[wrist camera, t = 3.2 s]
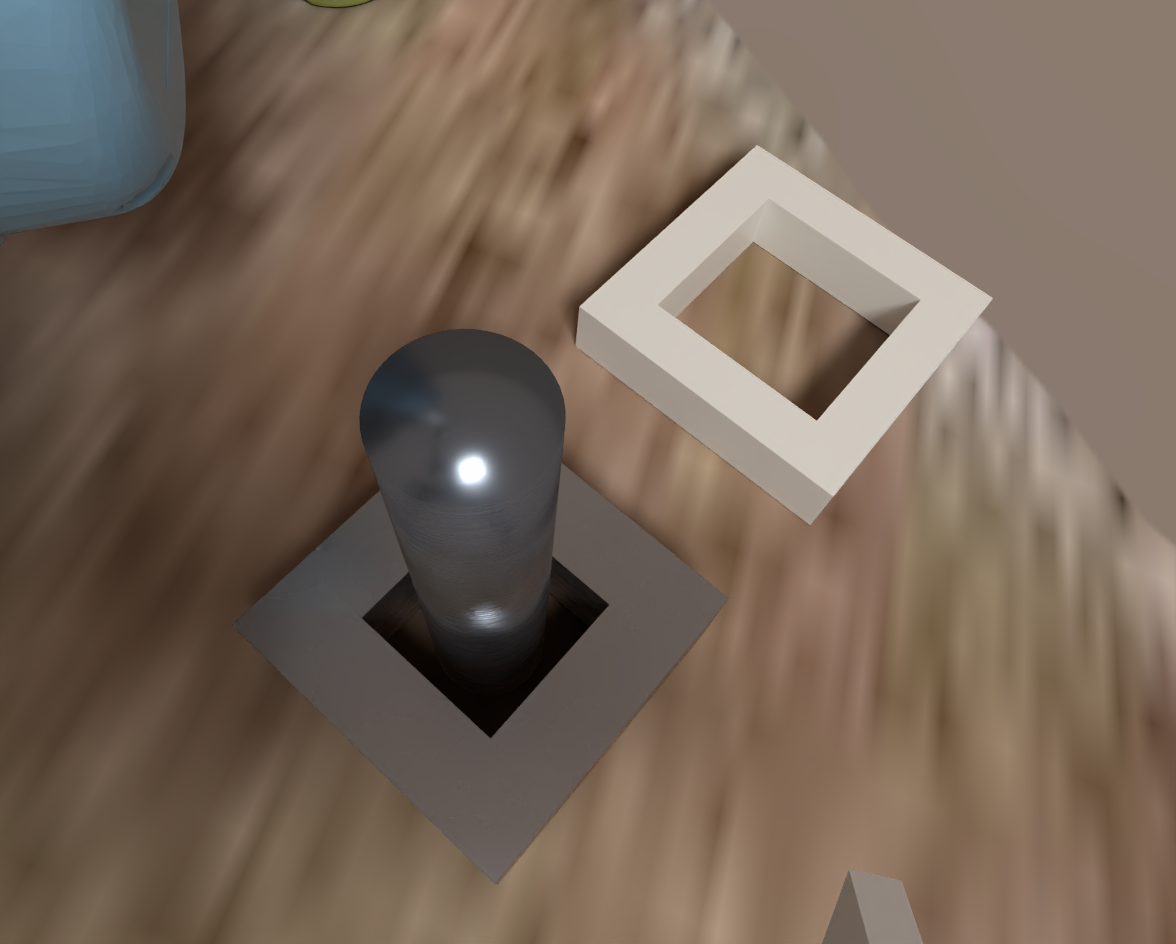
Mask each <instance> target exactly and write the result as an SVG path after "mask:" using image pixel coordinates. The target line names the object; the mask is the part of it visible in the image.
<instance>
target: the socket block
mask: <svg viewBox="0 0 1176 944" xmlns="http://www.w3.org/2000/svg"><path fill="white" fill-rule="evenodd" d="M549 593H550V594H551V595H552V596H554V597H555V598H556V599H557V600H558V601H559V602H561V603H562V604H563V605H564V606H565V607H566V608H568V609H569V610H570V611H571V612H572V613H573V614H574V615H576V616H577V617H578V618H579V619H580V620H581V621H583V622H584V623H585V624H586V625H587V626H588V627H589V628H588V630H587V631H586V632H585V633H584V634H583V635H582V636H581V637H580V639H579V640H578V641H577V642H576V643H575V644H574V645H573V647H572V648H571V649H570V650H569V651H568V652H567V653H566V654H565V656H564V657H563V658H562V659H561V660H560V661H559V662H558V663H557V665H556V666H555V667H554V668H553V669H552V670H551V671H550V672H549V674H548V675H547V676H546V677H545V678H544V679H543V680H542V681H541V683H540V684H539V685H538V686H537V687H536V688H535V689H534V690H533V692H532V693H531V694H530V695H529V696H528V697H527V698H526V699H525V701H524V702H523V703H522V704H521V705H520V706H519V707H518V708H517V710H516V711H515V712H514V713H513V714H512V715H511V716H510V717H509V719H508V720H507V721H506V722H505V723H504V724H503V725H502V726H501V728H500V729H499V730H498V731H497V732H496V733H495V734H494V736H493V737H492V738H491V739H490V738H489V737H488V736H487V735H486V734H485V733H484V732H483V731H482V730H481V729H480V728H479V727H478V726H476V725H475V724H474V723H473V722H472V721H471V720H470V719H469V718H468V717H467V716H466V715H465V714H464V713H463V712H461V711H460V710H459V709H458V708H457V707H456V706H455V705H454V704H453V703H452V702H451V701H450V700H449V699H448V698H446V697H445V696H444V695H443V694H442V693H441V692H440V691H439V690H438V689H437V688H436V687H435V686H434V685H433V684H431V683H430V682H429V681H428V680H427V679H426V678H425V677H424V676H423V675H422V674H421V673H420V672H419V671H418V670H416V669H415V668H414V667H413V666H412V665H411V664H410V663H409V662H408V661H407V660H406V659H405V658H404V657H403V656H401V655H400V654H399V653H398V652H397V651H396V650H395V649H394V648H393V647H392V646H391V645H390V644H389V643H388V642H387V641H388V640H389V639H390V638H391V637H392V636H393V635H394V634H395V633H396V632H397V631H398V630H399V629H400V628H401V627H402V626H403V625H404V624H405V623H406V622H407V621H408V620H409V619H410V618H411V617H412V616H413V615H414V614H415V613H416V612H417V611H418V610H419V609H420V608H421V605H420V602H419V599H418V597H417V594H416V591H415V588H414V585H413V583H412V580H411V577H410V574H409V571H408V568H407V566H406V563H405V560H404V557H403V554H402V551H401V549H400V546H399V543H398V540H397V537H396V534H395V532H394V529H393V526H392V523H391V520H390V517H389V515H388V512H387V509H386V506H385V503H384V501H383V498H382V495H381V492H380V491H378V492H377V493H376V494H375V495H374V496H373V497H372V498H371V499H370V500H369V501H368V502H366V503H365V504H364V505H363V506H362V507H361V508H360V509H359V510H358V511H357V512H355V513H354V514H353V515H352V516H351V517H350V518H349V519H348V520H347V521H346V522H344V523H343V524H342V525H341V526H340V527H339V528H338V529H337V530H336V531H335V532H333V533H332V534H331V535H330V536H329V537H328V538H327V539H326V540H325V541H324V542H322V543H321V544H320V545H319V546H318V547H317V548H316V549H315V550H314V551H313V552H311V553H310V554H309V555H308V556H307V557H306V558H305V559H304V560H303V561H302V562H300V563H299V564H298V565H297V566H296V567H295V568H294V569H293V570H292V571H291V572H289V573H288V574H287V575H286V576H285V577H284V578H283V579H282V580H281V581H280V582H278V583H277V584H276V585H275V586H274V587H273V588H272V589H271V590H270V591H269V592H267V593H266V594H265V595H264V596H263V597H262V598H261V599H260V600H259V601H258V602H256V603H255V604H254V605H253V606H252V607H251V608H250V609H249V610H248V611H247V612H245V613H244V614H243V615H242V616H241V617H240V618H239V619H238V620H237V621H236V622H234V623H233V624H232V626H233V627H234V628H235V629H236V630H237V631H239V632H240V633H241V634H242V635H243V636H244V637H245V638H246V639H247V640H248V641H249V642H250V643H251V644H252V645H253V646H254V647H255V648H256V649H257V650H258V651H259V652H260V653H261V654H262V655H263V656H264V657H265V658H266V659H267V660H268V661H269V662H270V663H271V664H272V665H273V666H274V667H275V668H276V669H277V670H278V671H279V672H280V673H281V674H282V675H283V676H284V677H285V678H286V679H287V680H288V681H289V682H290V683H291V684H292V685H293V686H294V687H295V688H296V689H297V690H298V691H299V692H300V693H301V694H302V695H303V696H304V697H305V698H306V699H307V700H308V701H309V702H311V703H312V704H313V705H314V706H315V707H316V708H317V709H318V710H319V711H320V712H321V713H322V714H323V715H324V716H325V717H326V718H327V719H328V720H329V721H330V722H331V723H332V724H333V725H334V726H335V727H336V728H337V729H338V730H339V731H340V732H341V733H342V734H343V735H344V736H345V737H346V738H347V739H348V740H349V741H350V742H351V743H352V744H353V745H354V746H355V747H356V748H357V749H358V750H359V751H360V752H361V753H362V754H363V755H364V756H365V757H366V758H367V759H368V760H369V761H370V762H371V763H372V764H373V765H374V766H375V767H376V768H377V769H378V770H379V771H380V772H381V773H383V774H384V775H385V776H386V777H387V778H388V779H389V780H390V781H391V782H392V783H393V784H394V785H395V786H396V787H397V788H398V789H399V790H400V791H401V792H402V793H403V794H404V795H405V796H406V797H407V798H408V799H409V800H410V801H411V802H412V803H413V804H414V805H415V806H416V807H417V808H418V809H419V810H420V811H421V812H422V813H423V814H424V815H425V816H426V817H427V818H428V819H429V820H430V821H431V822H432V823H433V824H434V825H435V826H436V827H437V828H438V829H439V830H440V831H441V832H442V833H443V834H444V835H445V836H446V837H447V838H448V839H449V840H450V841H451V842H452V843H453V844H455V845H456V846H457V847H458V848H459V849H460V850H461V851H462V852H463V853H464V854H465V855H466V856H467V857H468V858H469V859H470V860H471V861H472V862H473V863H474V864H475V865H476V866H477V867H478V868H479V869H480V870H481V871H482V872H483V873H484V874H485V875H486V876H487V877H488V878H489V879H490V880H491V881H492V882H493V883H494V884H498V883H499V882H500V881H501V880H502V879H503V877H504V876H505V875H506V874H507V872H508V871H509V870H510V869H511V868H512V866H513V865H514V864H515V863H516V861H517V860H518V859H519V858H520V857H521V855H522V854H523V853H524V852H525V850H526V849H527V848H528V847H529V846H530V844H531V843H532V842H533V841H534V839H535V838H536V837H537V836H538V835H539V833H540V832H541V831H542V830H543V828H544V827H545V826H546V825H547V824H548V822H549V821H550V820H551V819H552V817H553V816H554V815H555V814H556V813H557V811H558V810H559V809H560V808H561V806H562V805H563V804H564V803H565V802H566V800H567V799H568V798H569V797H570V795H571V794H572V793H573V792H574V790H575V789H576V788H577V787H578V786H579V784H580V783H581V782H582V781H583V779H584V778H585V777H586V776H587V775H588V773H589V772H590V771H591V770H592V768H593V767H594V766H595V765H596V764H597V762H598V761H599V760H600V759H601V757H602V756H603V755H604V754H605V753H606V751H607V750H608V749H609V748H610V746H611V745H612V744H613V743H614V742H615V740H616V739H617V738H618V737H619V735H620V734H621V733H622V732H623V731H624V729H625V728H626V727H627V726H628V724H629V723H630V722H631V721H632V720H633V718H634V717H635V716H636V715H637V713H638V712H639V711H640V710H641V709H642V707H643V706H644V705H645V704H646V702H647V701H648V700H649V699H650V698H651V696H652V695H653V694H654V693H655V691H656V690H657V689H658V688H659V687H660V685H661V684H662V683H663V682H664V680H665V679H666V678H667V677H668V676H669V674H670V673H671V672H672V671H673V669H674V668H675V667H676V666H677V665H678V663H679V662H680V661H681V660H682V658H683V657H684V656H685V655H686V654H687V652H688V651H689V650H690V649H691V647H692V646H693V645H694V644H695V643H696V641H697V640H698V639H699V638H700V636H701V635H702V634H703V633H704V632H705V630H706V629H707V628H708V626H709V625H710V623H711V622H712V621H713V619H714V618H715V617H716V615H717V614H718V612H719V611H720V610H721V608H722V607H723V606H724V604H725V603H726V601H727V600H728V599H729V598H728V597H727V596H725V595H724V594H723V593H722V592H720V591H719V590H718V589H717V588H715V587H714V586H713V585H712V584H710V583H709V582H708V581H707V580H706V579H704V578H703V577H702V576H701V575H699V574H698V573H697V572H696V571H694V570H693V569H692V568H691V567H689V566H688V565H687V564H686V563H685V562H683V561H682V560H681V559H680V558H678V557H677V556H676V555H675V554H673V553H672V552H671V551H670V550H669V549H667V548H666V547H665V546H664V545H662V544H661V543H660V542H659V541H657V540H656V539H655V538H654V537H652V536H651V535H650V534H649V533H648V532H646V531H645V530H644V529H643V528H641V527H640V526H639V525H638V524H636V523H635V522H634V521H633V520H631V519H630V518H629V517H628V516H627V515H625V514H624V513H623V512H622V511H620V510H619V509H618V508H617V507H615V506H614V505H613V504H612V503H611V502H609V501H608V500H607V499H606V498H604V497H603V496H602V495H601V494H599V493H598V492H597V491H596V490H594V489H593V488H592V487H591V486H590V485H588V484H587V483H586V482H585V481H583V480H582V479H581V478H580V477H578V476H577V475H576V474H575V473H573V472H572V471H571V470H570V469H569V468H567V467H566V466H565V465H564V464H562V463H561V472H560V482H559V492H558V502H557V513H556V523H555V533H554V543H553V553H552V564H551V574H550V584H549Z"/></svg>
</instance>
